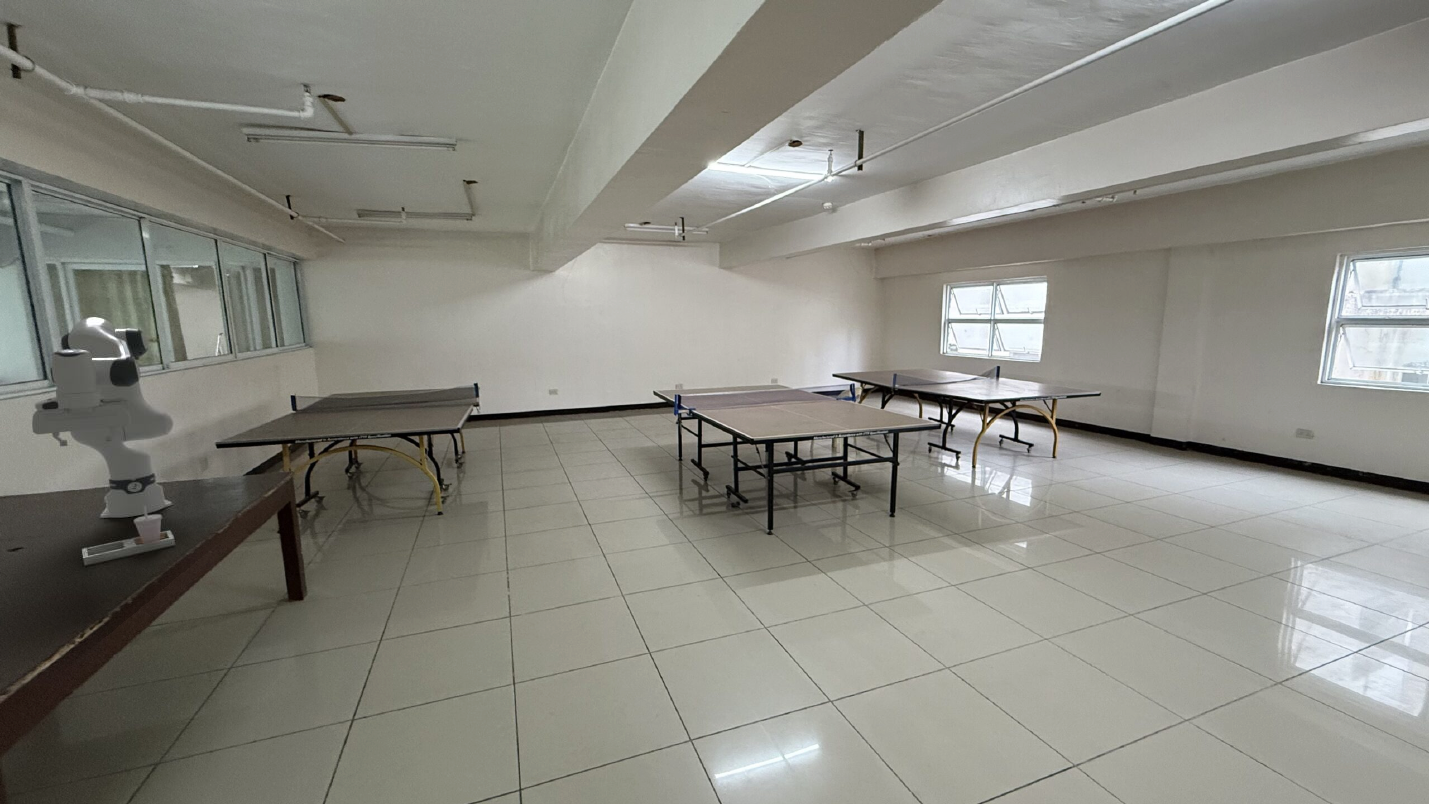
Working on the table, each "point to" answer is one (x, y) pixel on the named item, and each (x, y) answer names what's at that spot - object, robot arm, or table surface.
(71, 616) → the table surface
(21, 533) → the table surface
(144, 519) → the smoothie
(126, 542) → the cup holder
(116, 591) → the table surface
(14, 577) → the table surface
